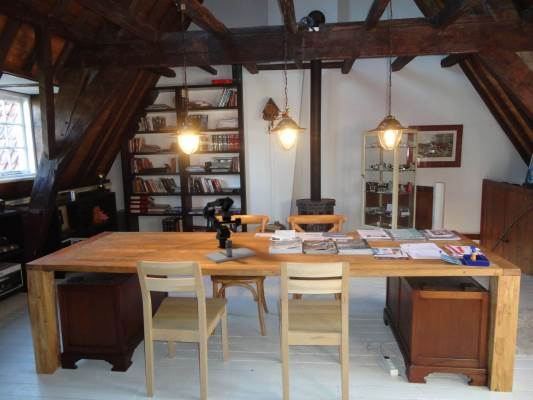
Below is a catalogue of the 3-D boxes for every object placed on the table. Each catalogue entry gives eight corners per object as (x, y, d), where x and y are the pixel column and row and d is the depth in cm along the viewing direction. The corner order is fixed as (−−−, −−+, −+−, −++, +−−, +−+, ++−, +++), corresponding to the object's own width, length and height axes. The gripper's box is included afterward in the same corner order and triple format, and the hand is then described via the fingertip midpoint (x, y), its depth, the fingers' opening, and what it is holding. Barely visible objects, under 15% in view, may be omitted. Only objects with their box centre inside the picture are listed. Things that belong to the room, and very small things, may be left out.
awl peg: (224, 256, 241) (224, 241, 239) (229, 255, 244) (229, 239, 242) (229, 257, 238) (228, 242, 237) (234, 256, 241) (233, 240, 240)
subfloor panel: (204, 256, 247) (204, 254, 247) (244, 249, 263) (244, 247, 262) (215, 262, 234) (215, 260, 234) (256, 254, 249) (256, 252, 249)
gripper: (212, 207, 252) (214, 227, 243) (240, 205, 256) (244, 225, 247) (211, 217, 260) (213, 237, 251) (239, 215, 265) (242, 234, 255)
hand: (228, 233), depth 251 cm, fingers open, 9 cm apart
